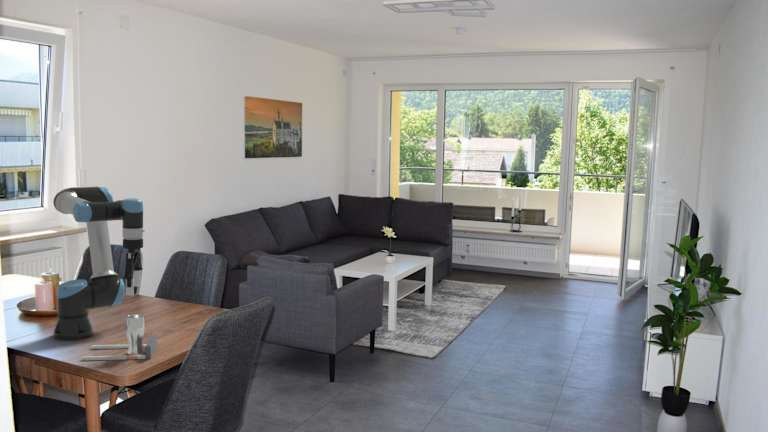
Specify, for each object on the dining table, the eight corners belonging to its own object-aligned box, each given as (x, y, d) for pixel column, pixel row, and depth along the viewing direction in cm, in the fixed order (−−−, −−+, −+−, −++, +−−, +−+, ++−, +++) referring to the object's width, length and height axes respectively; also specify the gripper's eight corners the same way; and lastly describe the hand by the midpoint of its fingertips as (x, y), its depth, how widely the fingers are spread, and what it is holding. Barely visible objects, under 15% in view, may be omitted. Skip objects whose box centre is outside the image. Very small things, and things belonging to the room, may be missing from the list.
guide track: (82, 360, 244) (82, 347, 244) (92, 348, 258) (92, 336, 258) (150, 358, 249) (150, 346, 248) (156, 346, 263) (156, 334, 262)
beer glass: (147, 350, 258) (146, 314, 256) (141, 356, 251) (140, 319, 249) (129, 349, 258) (129, 313, 256) (123, 355, 251) (122, 318, 249)
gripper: (136, 244, 239) (137, 298, 242) (148, 232, 263) (149, 282, 266) (115, 243, 238) (116, 299, 240) (129, 232, 262) (130, 282, 265)
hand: (133, 290), depth 253 cm, fingers open, 13 cm apart
